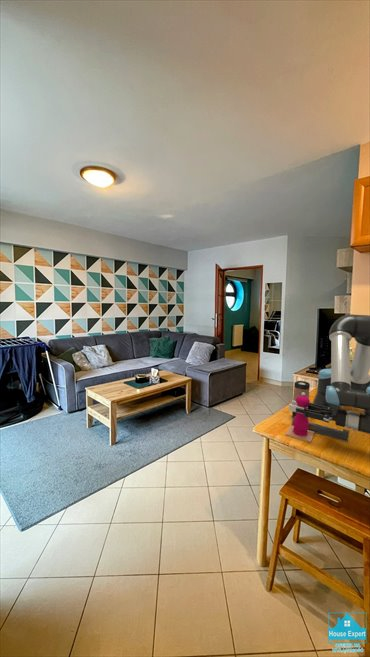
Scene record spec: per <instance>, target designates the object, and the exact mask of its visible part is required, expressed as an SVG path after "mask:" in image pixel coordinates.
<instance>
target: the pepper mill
mask: <svg viewBox="0 0 370 657" xmlns="http://www.w3.org/2000/svg"><path fill="white" fill-rule="evenodd" d="M310 401H311V400H310V397H309V398H308V397H307V396H305V393H304V392H303V393H301V395H299V396H297V398H296V403H297V406H299V407H303V408H304V407H305V409H308V405H309V404H310V403H311V402H310ZM309 422H310V421H309V417H305V416H304V414H302V413H298V412H297V415H296V416H295V418H294V420H293V425H294V428H293V432H294V433H295V434H297V435H300V436H306V435H307V433H308V430H307V429H308V428H309Z"/></svg>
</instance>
